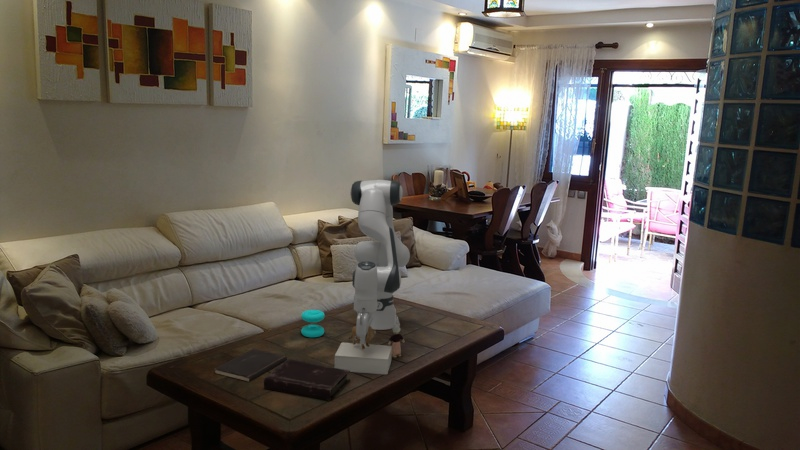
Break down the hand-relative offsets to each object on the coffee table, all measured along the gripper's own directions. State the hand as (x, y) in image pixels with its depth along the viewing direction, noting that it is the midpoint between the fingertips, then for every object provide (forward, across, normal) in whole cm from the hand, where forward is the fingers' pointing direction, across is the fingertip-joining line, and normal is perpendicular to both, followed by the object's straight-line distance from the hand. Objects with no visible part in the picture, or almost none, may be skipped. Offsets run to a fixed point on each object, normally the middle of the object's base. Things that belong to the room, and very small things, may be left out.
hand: (364, 339), depth 238 cm
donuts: (+11, +30, +27) cm, 42 cm away
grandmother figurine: (+10, +12, -11) cm, 19 cm away
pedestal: (+10, 0, 0) cm, 10 cm away
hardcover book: (+11, -9, +41) cm, 44 cm away
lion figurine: (+3, +2, +1) cm, 4 cm away
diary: (+11, -21, +17) cm, 29 cm away
